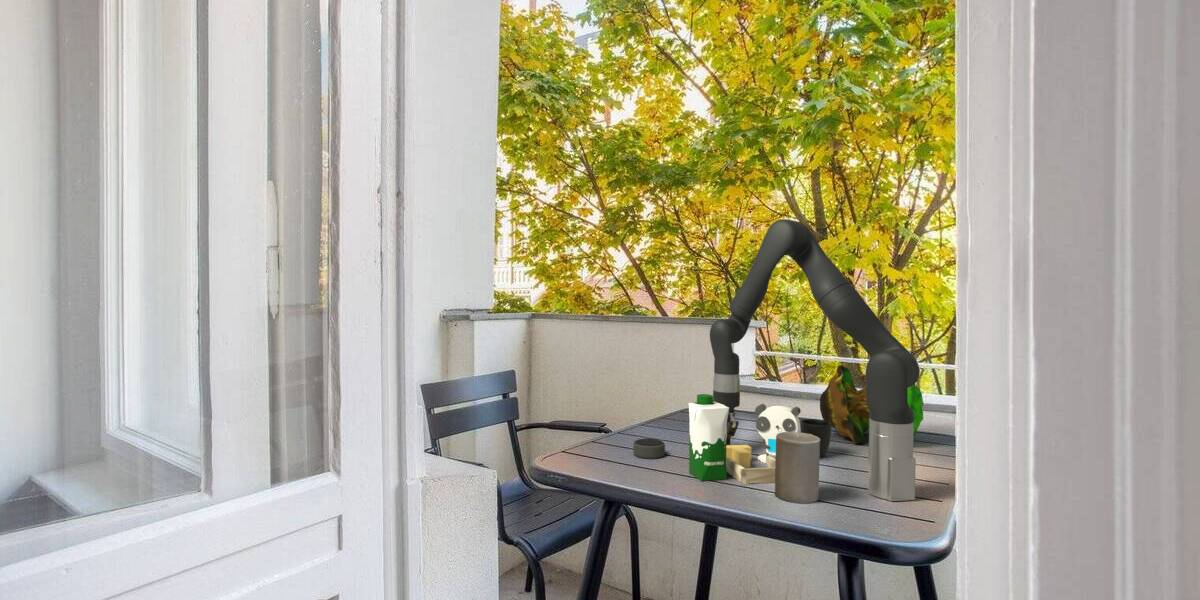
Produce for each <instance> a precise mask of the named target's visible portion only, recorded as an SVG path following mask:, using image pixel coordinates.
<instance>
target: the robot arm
mask: <svg viewBox="0 0 1200 600" xmlns="http://www.w3.org/2000/svg"><path fill="white" fill-rule="evenodd" d="M785 256H788V257H790V259H792V260H793V261H794V262H795V263H796V264H797V266H798V267H799V268H800V270H801V271H803V273H804V274H805V277H806V279H807V281H808V284H809V287H810V291H811V295H812V296H813V299H814V300H815V303H817V305H818V306H819V308H820V309H821V310H822V311H823V313H824V314H825V315H826V317H827V318H828V319H829V320H830V322H832V323H833V324H834V325H835V326H836V327H837V328H839V329H840V330H842V332H843V333H845V334H846V335H848V336H849V337H850V338H852V339H853V340H854V341H856V342H857V343H858V344H859V345H860V346H861V347H862V348H863V350H864V351H865V352H866V354H867V355H868V356H869V360H868V361H867V364H866V368H865V385H866V403H867V407H868V409H869V428H868V429H869V430H868V469H867V470H868V471H867V472H868V473H867V474H868V478H867V479H868V483H867V485H868V486H867V488H868V489H867V491H868V493H869V494H870V495H872V496H874V497H877V498H880V499H884V500H888V501H890V502H896V501H897V502H900V501H901V502H902V501H903V502H904V501H915V500H916V465H917V464H916V463H917V461H916V460H917V459H916V458H915V457H914V437H913V434H914V412H913V410H912V409H911V408H910V407H909V405H908V389H907V388H908V387H911V386H913V385H914V384H915V385H916V383H918V381H919V378H920V374H921V371H920V370H921V369H920V366H919V362H918V361H917V358H916V357H915V356H914V355H913V354H912V353H911V352H910V351H909V350H908V349H907V348H906V347H905V346H904V345H903V344H902V343H901V342H900V341H899V340H898V339H897V338H896V337H895V336H894V335H893V334H892V333H891V332H890V331H889V330H888V329H887V328H886V327H885V325H884V324H883V323H882V321H881V320H880V319H879V317H878V315H876V314H875V312H874V311H873V309H872V308H871V307H870V306H869V305H868V304H867V302H866V301H865V300H864V298H863V297H862V295H860V294H861V293H859V292H858V290H857V289H856V288H855V287H854V285H852V283H851V282H850V281H849V280H848V279H847V278H846V277H845V275H844V274H843V273H842V272H841V270H840V269H839V268H838V267H837V266H836V265H835V264H834V262H833V261H832V260H831V259H830V258H829V257H828V256H827V254H826V253H825V251H824V250H823V249H822V247H821V246H820V243H819V242H818V241H817V239H816V237H815V236H814V234H813V232H812V231H811V230H810V228H809V227H808V226H807V225H806V224H804V223H802V222H801V221H800V222H799V221H797V220H791V219H787V218H786V219H784V218H783V219H777V220H774V221H773V223H772V224H770V226H769V228H768V229H767V231H766V233H765V235H764V237H763V240H762V242H761V244H760V246H759V248H758V252H757V254H756V256H755V258H754V260H753V262H752V265H751V267H750V269H749V271H748V273H747V276H746V277H745V279H744V280H743V282H742V284H741V286H740V287H739V289H738V290H737V292H736V293H735V295H734V297H733V299H732V300H731V301H730V303H729V308H728V309H729V311H730V312H731V313H730V316H728V318H726V319H725V318H724V319H717V320H715V321H714V322H713V323H712V324H711V327H710V328H709V343H710V346H711V350H712V355H713V358H714V364H713V365H714V366H713V367H714V368H713V379H712V380H713V381H712V396H713V402H717V403H720V404H723V405H725V406H726V407H728V408H729V412H728V418H727V445H731V438H732V437H734V436H735V435H736V431H737V429H738V426H739V421H738V420H735V419H736V413H735V412H736V411H735V409H736V408H738V407H740V405H741V402H740V401H741V378H740V356H739V355H738V353H736V352H734V351H733V345H732V344H737V343H739V342H740V341H741V340H742V339H743V338H744V337H745V335H746V334H747V332H748V329H749V326H750V324H751V321H752V317H753V316H754V314H755V313H756V311H757V310H758V308H759V307H760V305H761V304H762V303H763V301H764V299H765V297H766V294H767V292H768V287H769V284H770V279H771V276H772V274H773V272H774V269H775V268H776V266H777V265H778V264H779V262H780V261H781V260H782V259H783V258H784V257H785Z"/></svg>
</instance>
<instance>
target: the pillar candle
mask: <svg viewBox="0 0 1200 600" xmlns="http://www.w3.org/2000/svg"><path fill="white" fill-rule="evenodd" d="M820 460H821V458H820V438H818V437H816V436H814V435H811V434H806V433H801V431H800V432H798V431H797V432H782V433H778V434H777V435H776V458H775V483H774V496H775V497H776V498H777V497H778V498H777V499H780V500H782V501H784V500H785V502H788V501H790V503H792V502H796V503H795V504H805V505H806V504H813V503H816V502H817V501H819V493H820V492H819V489H820V488H819V487H820Z"/></svg>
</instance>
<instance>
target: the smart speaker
mask: <svg viewBox="0 0 1200 600" xmlns="http://www.w3.org/2000/svg"><path fill="white" fill-rule="evenodd" d="M632 447H633V450H632V451H633V455H634V456H635V457H637V458H641V459H645V460H655V459H660V458H663V456H665V453H666V444H665V443H664V441H663V440H661V439H656V438H640V439H636V440H635V441H633V445H632Z"/></svg>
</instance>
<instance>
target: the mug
mask: <svg viewBox="0 0 1200 600" xmlns="http://www.w3.org/2000/svg"><path fill="white" fill-rule="evenodd" d="M799 422H800V433H806V434H811V435H814V436H816V437H818V438H820V459H824V458H826V457H827V453H828V450H829V446H830V443H831V437H832V427H831V423H830V422H828V421H824V420H823V419H817V418H816V419H815V418H814V419H813V418H809V419H807V418H801V419H800V420H799Z"/></svg>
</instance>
